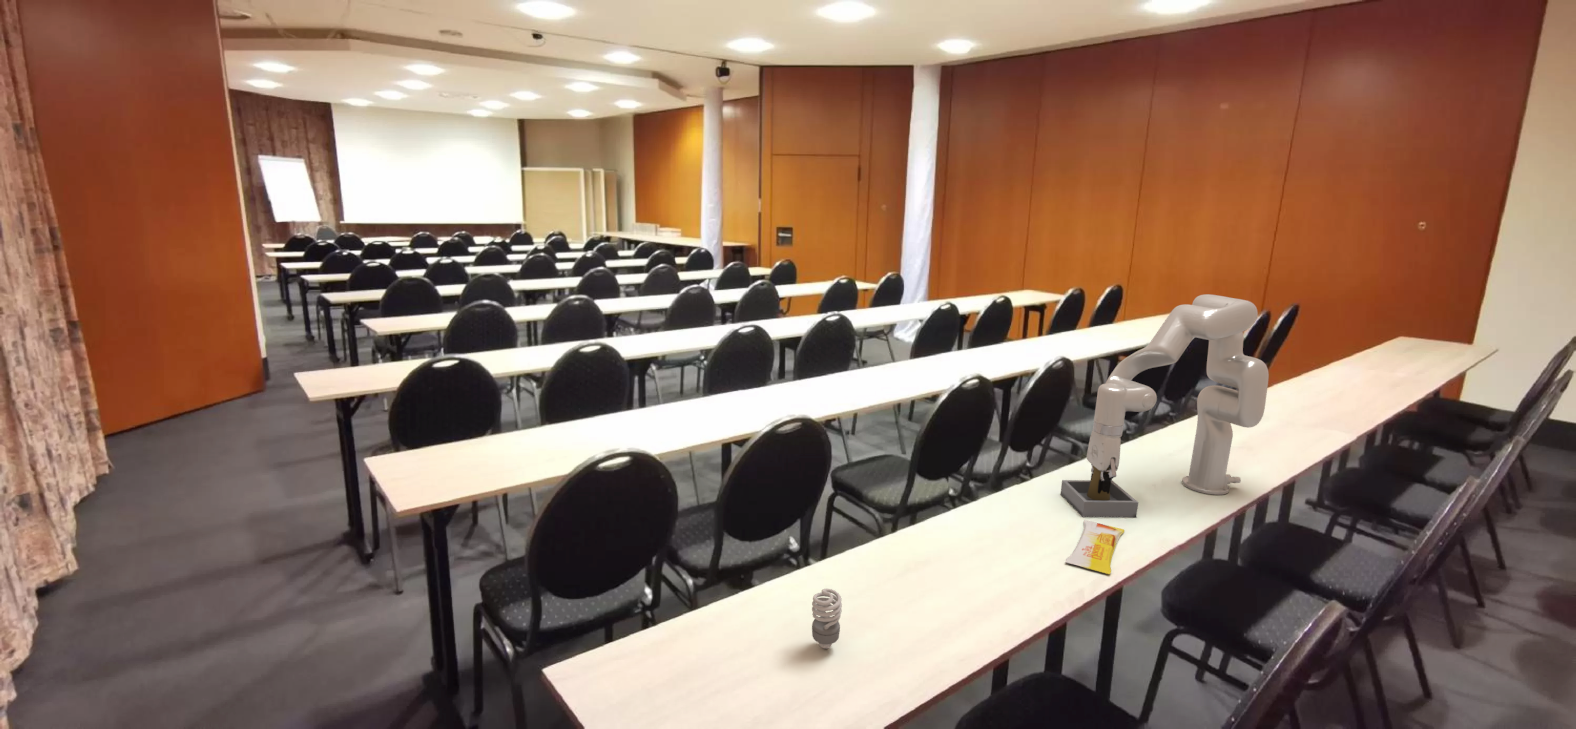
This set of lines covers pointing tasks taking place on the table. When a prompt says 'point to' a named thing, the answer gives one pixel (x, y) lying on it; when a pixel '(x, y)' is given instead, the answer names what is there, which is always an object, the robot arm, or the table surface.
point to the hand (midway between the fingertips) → (1099, 489)
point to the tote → (1087, 507)
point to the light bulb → (826, 617)
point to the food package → (1095, 547)
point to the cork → (1094, 487)
